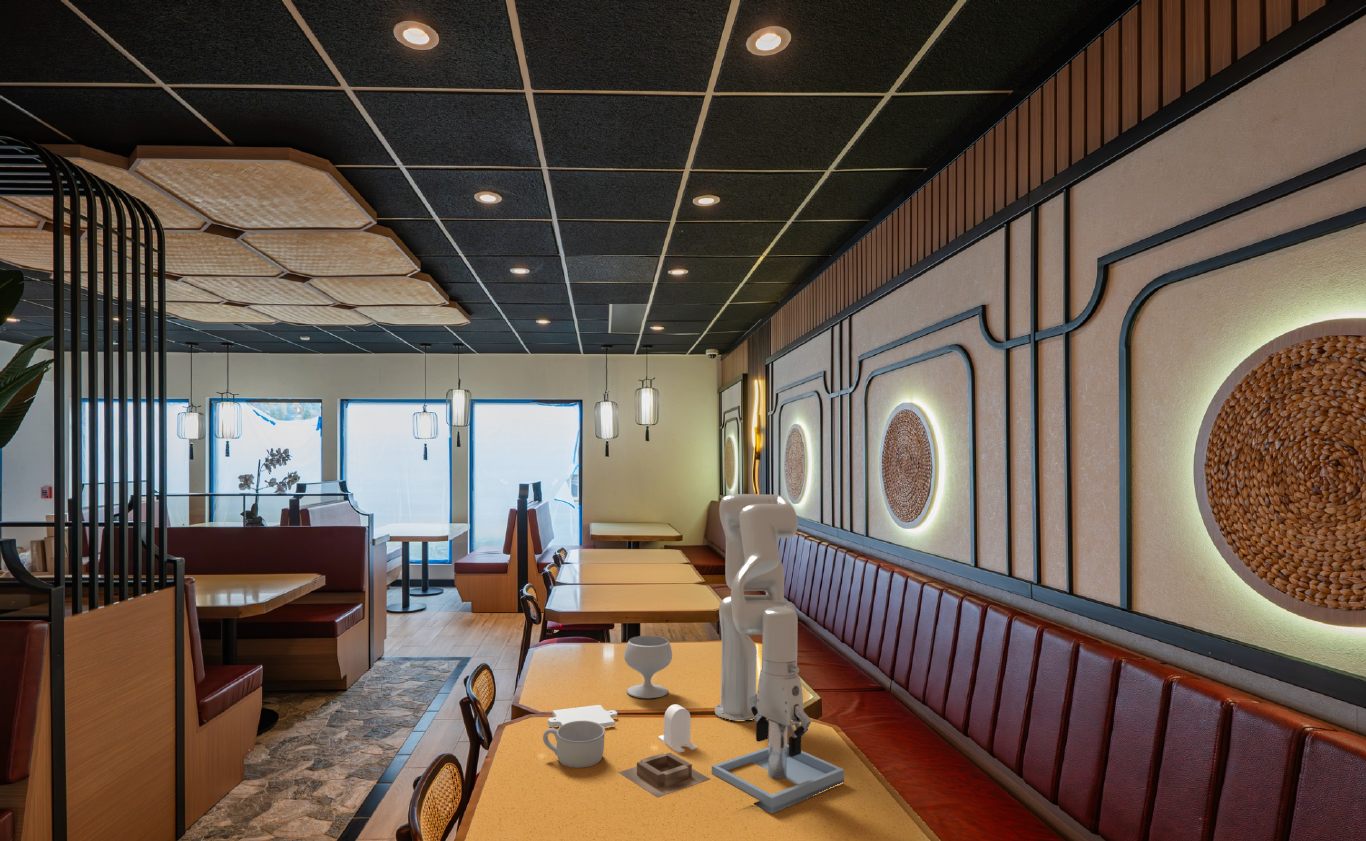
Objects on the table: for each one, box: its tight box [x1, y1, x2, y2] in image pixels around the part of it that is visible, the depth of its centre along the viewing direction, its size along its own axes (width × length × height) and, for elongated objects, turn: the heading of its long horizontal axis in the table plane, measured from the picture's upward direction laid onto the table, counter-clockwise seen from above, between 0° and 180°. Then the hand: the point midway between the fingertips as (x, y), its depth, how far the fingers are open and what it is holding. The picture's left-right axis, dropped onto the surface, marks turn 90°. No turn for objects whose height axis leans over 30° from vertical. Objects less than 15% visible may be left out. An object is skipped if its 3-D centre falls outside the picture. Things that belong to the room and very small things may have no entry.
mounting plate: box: [547, 704, 618, 728], centre depth 188 cm, size 18×13×2 cm
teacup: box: [542, 721, 606, 769], centre depth 162 cm, size 14×11×8 cm
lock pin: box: [767, 719, 788, 780], centre depth 156 cm, size 4×4×12 cm
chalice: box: [623, 635, 673, 699], centre depth 212 cm, size 14×14×15 cm
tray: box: [711, 743, 845, 815], centre depth 156 cm, size 22×18×3 cm
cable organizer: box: [657, 703, 698, 754], centre depth 172 cm, size 5×10×10 cm, turn 31°
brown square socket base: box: [618, 752, 711, 798], centre depth 154 cm, size 14×14×4 cm
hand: (778, 747), depth 156 cm, fingers open, 9 cm apart
